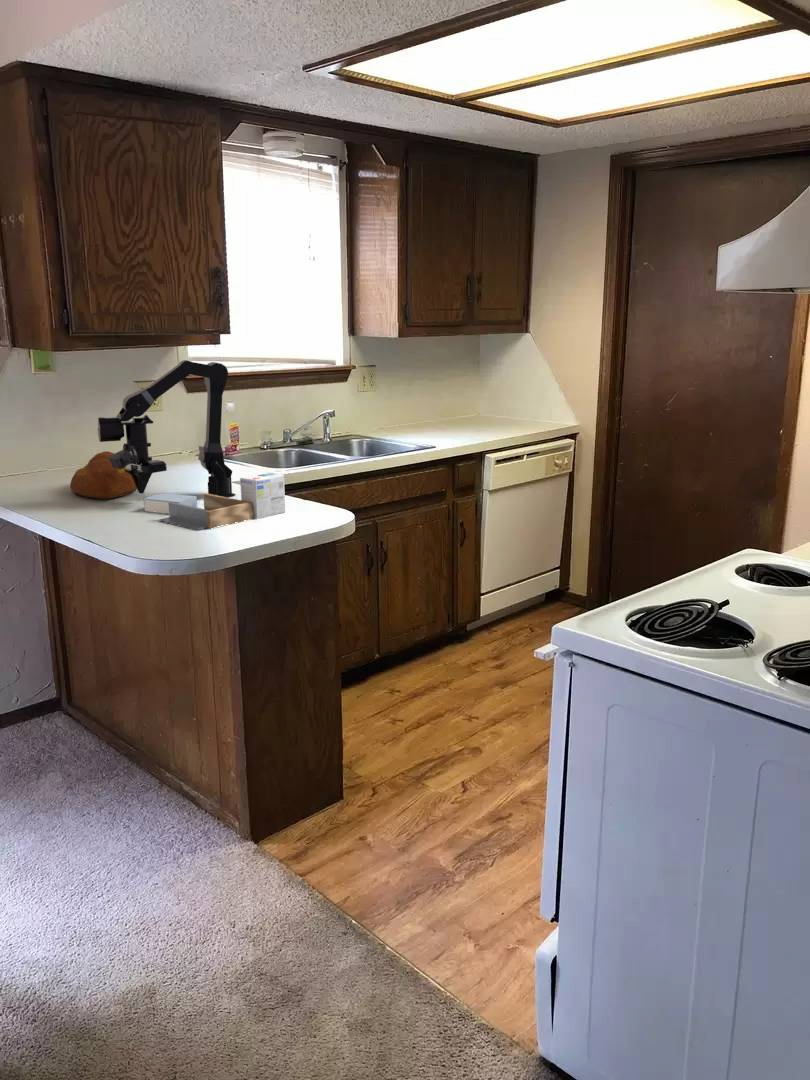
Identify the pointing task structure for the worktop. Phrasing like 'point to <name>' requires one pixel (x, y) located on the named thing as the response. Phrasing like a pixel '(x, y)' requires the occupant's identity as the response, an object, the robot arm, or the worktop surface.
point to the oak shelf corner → (226, 510)
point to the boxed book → (167, 501)
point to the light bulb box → (264, 493)
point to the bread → (102, 479)
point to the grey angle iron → (187, 516)
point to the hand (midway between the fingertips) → (141, 493)
